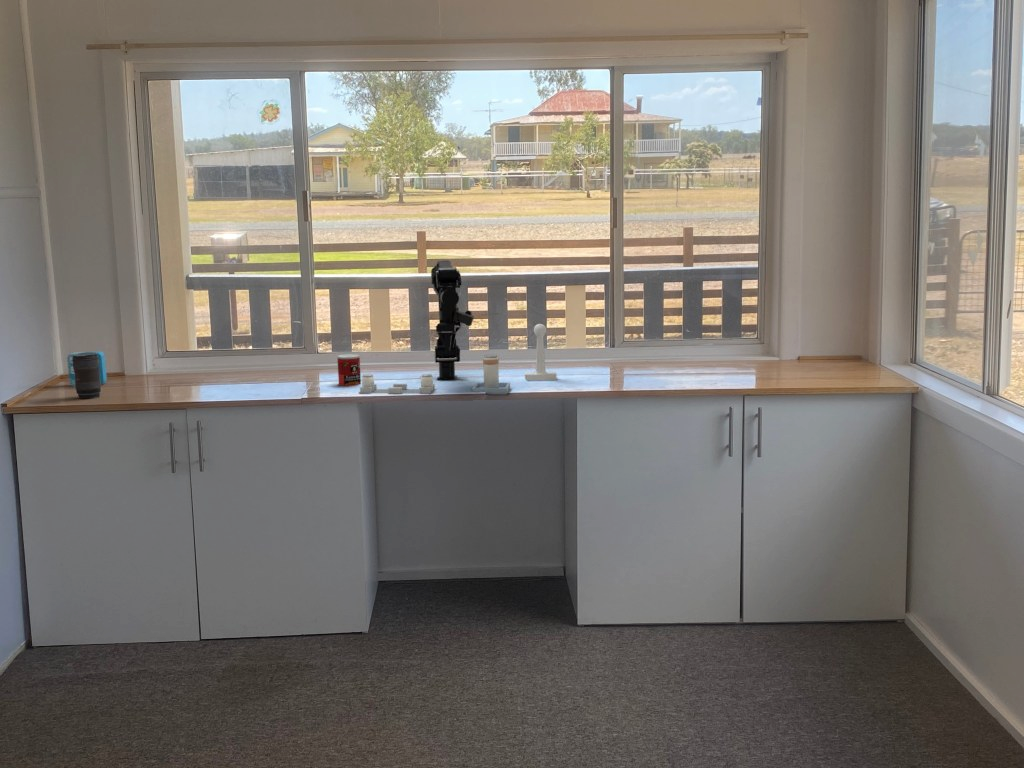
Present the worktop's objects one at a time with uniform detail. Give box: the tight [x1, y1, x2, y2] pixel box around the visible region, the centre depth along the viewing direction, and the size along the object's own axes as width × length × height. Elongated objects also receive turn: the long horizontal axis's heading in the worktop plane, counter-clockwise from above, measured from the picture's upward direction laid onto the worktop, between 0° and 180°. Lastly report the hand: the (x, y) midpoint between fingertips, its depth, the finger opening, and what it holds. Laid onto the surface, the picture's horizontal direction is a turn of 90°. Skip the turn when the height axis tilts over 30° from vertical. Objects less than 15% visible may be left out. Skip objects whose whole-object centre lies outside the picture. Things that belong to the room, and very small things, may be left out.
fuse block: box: [358, 383, 438, 395], centre depth 339 cm, size 9×25×3 cm, turn 83°
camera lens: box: [72, 351, 102, 399], centre depth 344 cm, size 8×8×15 cm
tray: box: [471, 382, 511, 396], centre depth 340 cm, size 12×12×2 cm
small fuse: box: [420, 373, 434, 393], centre depth 337 cm, size 4×4×6 cm
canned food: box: [337, 353, 362, 387], centre depth 354 cm, size 8×8×11 cm
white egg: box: [361, 373, 375, 392], centre depth 340 cm, size 4×4×6 cm
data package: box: [66, 350, 108, 387], centre depth 370 cm, size 12×4×12 cm, turn 98°
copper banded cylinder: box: [482, 353, 500, 388], centre depth 339 cm, size 5×5×12 cm
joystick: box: [524, 323, 557, 381], centre depth 362 cm, size 11×8×20 cm
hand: (449, 349), depth 348 cm, fingers open, 9 cm apart
